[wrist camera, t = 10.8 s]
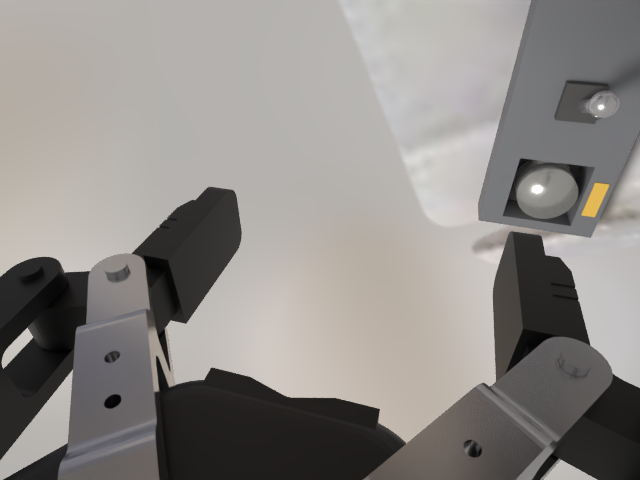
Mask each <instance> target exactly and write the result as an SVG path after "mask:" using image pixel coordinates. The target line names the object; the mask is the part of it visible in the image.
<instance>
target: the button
mask: <svg viewBox="0 0 640 480" xmlns="http://www.w3.org/2000/svg"><path fill="white" fill-rule="evenodd" d="M514 183H515V190H516V197H517V202H518V205H519V207H520V208H521V210H522V211H523V212H524V213H526V214H527V215H529V216H531V217H534V218H540V219H548V218H554V217H557V216H560V215H562V214H564V213H565V212H567V211H568V210H569V209H570V208H571V207H572V206H573V205H574V203H575V202H576V200H577V197H578V187H577V184H576V181H575V179H574V176H573V174H572V171H571V169H570V167H569V166H568V164H564V163H556V162H548V161H539V160H529V161H528V162H526V163H525V164H523V165H522V166H521V167H520V169H519V170H518V172H517V173H516V176H515V181H514Z"/></svg>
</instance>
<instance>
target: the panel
mask: <svg viewBox="0 0 640 480" xmlns="http://www.w3.org/2000/svg"><path fill="white" fill-rule="evenodd" d="M601 91H612V92H614V93H615V94H616V95H617V96H618V97H619V101H620V104H619V107H618V109H617V111H616V112H615V113H614V114H613V115H611V116H609V117H607V118H596V117H594V116H592V115H591V114H590V113H580V112H579V111H578V110H577V105H578V103H579V102H580V101H581V100H585V99H591V98H592V97H593V96H594V95H595V94H596V93H598V92H601ZM639 132H640V0H532V1H531V5H530V9H529V12H528V16H527V20H526V24H525V28H524V31H523V35H522V39H521V43H520V47H519V50H518V54H517V58H516V62H515V66H514V69H513V73H512V77H511V81H510V85H509V88H508V92H507V96H506V100H505V104H504V107H503V111H502V115H501V119H500V123H499V126H498V130H497V134H496V138H495V142H494V145H493V149H492V153H491V157H490V161H489V164H488V168H487V172H486V176H485V180H484V183H483V187H482V191H481V195H480V199H479V202H478V213H479V220H480V221H487V222H493V223H500V224H506V225H513V226H519V227H526V228H532V229H538V230H545V231H551V232H558V233H564V234H571V235H577V236H584V237H590V238H591V236H592V234H593V231H594V229H595V227H596V225H597V223H598V221H599V219H600V216H601V214H602V212H603V210H604V208H605V206H606V203H607V201H608V199H609V197H610V195H611V193H612V191H613V188H614V186H615V184H616V182H617V180H618V178H619V175H620V173H621V171H622V169H623V167H624V165H625V162H626V160H627V158H628V156H629V154H630V152H631V150H632V147H633V145H634V143H635V141H636V139H637V137H638V134H639ZM520 158H523V159H531V160H539V161H548V162H556V163H564V164H572V165H580V166H581V169H580V171H579V174H578V176H577V179H576V184H577V187H578V197H577V200H576V202H575V203H574V205H573V206H572V207H571V208H570V209H569V210H568V211H567V212H565V213H564V214H562V215H560V216H557V217H554V218H548V219H540V218H534V217H531V216H529V215H527V214H526V213H524V212H523V211H522V210H521V208H520V207H519V205H518V202H517V201H514V200H508V196H509V193H510V190H511V187H512V183H513V180H514V177H515V174H516V170H517V167H518V164H519V161H520Z"/></svg>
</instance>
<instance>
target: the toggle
mask: <svg viewBox="0 0 640 480" xmlns="http://www.w3.org/2000/svg"><path fill="white" fill-rule="evenodd" d="M619 104H620V101H619V97H618V96H617V95H616V94H615V93H614V92H612V91H601V92H598V93H596V94H595V95H594V96H593V97H592V98H591V99H585V100H581V101H580V102H579V103H578V105H577V110H578V111H579V112H580V113H590V114H591V115H592V116H594V117H596V118H607V117H609V116H611V115H613V114H614V113H615V112H616V111H617V109H618V107H619Z"/></svg>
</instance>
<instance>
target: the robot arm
mask: <svg viewBox="0 0 640 480" xmlns="http://www.w3.org/2000/svg"><path fill="white" fill-rule="evenodd" d="M240 242H241V225H240V218H239V211H238V204H237V197H236V194H235V192H234V191H233V190H229V189H222V188H215V187H208V188H207V189H206V190H205V191H204V192H203V193H202V194H201V195H200V196H199V197H198V198H197V199H196V200H191V201H189V202H188V203H185V204H183V205H182V206H180V207H178V208H177V209H176V210H175V211H174V212H173V213H172V214H171V215H170V216H169V217H168V219H167V220H165V221H164V222H163V223H162V224H161V225H160V227H159V228H157V229H156V230H155V231H154V232H153V233H152V234H151V235H150V236H149V237H148V238H147V239H146V240H145V241H144V242H143V243H142V244H141V245H140V246H139V247H138V248H137V249H136V250H135V251H134V252H133V253H132V254H119V255H114V256H111V257H108V258H106V259H104V260H102V261H100V262H99V263H97V264H96V265H95V266H94V267H93V268H92V270H91V271H87V272H68V273H64V270H63V268H62V266H61V264H60V263H59V261H58V260H56V259H54V258H50V257H38V258H33V259H29V260H26V261H24V262H21V263H19V264H17V265H15V266H14V267H12V268H11V269H10V270H8V271H7V272H6V273H5V274H3V275H2V276H1V277H0V460H1V459H2V457H3V456H4V455H5V454H6V452H7V451H8V450H9V448H10V447H11V446H12V445H13V443H14V442H15V441H16V439H17V438H18V437H19V436H20V435H21V433H22V432H23V431H24V430H25V428H26V427H27V426H28V425H29V423H30V422H31V421H32V420H33V418H34V417H35V416H36V415H37V413H38V412H39V411H40V410H41V408H42V407H43V406H44V404H45V403H46V402H47V401H48V400H49V398H50V397H51V396H52V395H53V393H54V392H55V391H56V390H57V388H58V387H59V386H60V385H61V383H62V382H63V381H64V380H65V378H66V377H67V376H68V374H69V373H70V372H71V371H72V369H73V378H72V393H71V407H70V421H69V435H68V443H67V444H66V445H64V446H62V447H60V448H59V449H57V450H55V451H53V452H51V453H50V454H48V455H46V456H44V457H43V458H41V459H39V460H37V461H36V462H34V463H32V464H31V465H28V466H27V467H25V468H23V469H21V470H20V471H18V472H16V473H14V474H13V475H11V476H9V477H7V478H6V479H4V480H543V479H544V478H545V477H546V476H547V474H549V472H550V471H551V470H552V469H553V468H554V467H555V466H556V464H558V462H559V461H560V460H563V461H565V462H567V463H568V464H570V465H572V466H574V467H576V468H578V469H580V470H581V471H583V472H585V473H587V474H588V475H590V476H592V477H594V478H596V479H598V480H640V388H638V387H636V386H634V385H632V384H629V383H627V382H625V381H623V380H622V379H620V378H618V377H616V376H615V375H614V374H613V373H612V369H611V367H610V365H609V363H608V362H607V360H606V359H605V358H604V357H603V356H602V355H601V354H600V353H599V352H598V351H597V350H595V349H594V348H593V347H591V346H590V342H589V338H588V334H587V330H586V327H585V323H584V319H583V315H582V311H581V307H580V304H579V302H578V295H577V292H576V289H575V283H574V280H573V276H572V272H571V271H570V269H569V268H568V267H567V266H566V265H565V264H564V262H563V261H562V260H561V259H560V258H559V257H553V256H546V255H545V251H544V246H543V241H542V237H541V236H540V235H533V234H526V233H519V232H512V231H511V232H510V233H509V235H508V238H507V241H506V244H505V247H504V251H503V254H502V257H501V260H500V264H499V267H498V270H497V274H496V277H495V282H494V288H493V310H494V311H493V312H494V337H495V363H496V382H495V383H494V384H493V385H492V386H490V387H489V386H488V385H486V384H485V383H481V384H479V385H477V386H476V387H474V388H473V389H472V390H471V391H470V392H469V393H467V394H466V395H465V396H463V397H462V398H461V399H460V400H459V401H458V402H456V403H455V404H454V405H453V406H451V407H450V408H449V409H448V410H447V411H445V412H444V413H443V414H442V415H441V416H439V417H438V418H437V419H436V420H435V421H433V422H432V423H431V424H430V425H428V426H427V427H426V428H425V429H424V430H422V431H421V432H420V433H419V434H418V435H416V436H415V437H414V438H413V439H412V440H411V441H409V442H408V443H407V444H406V442H404V441H403V440H402V439H401V438H400V437H399V436H397V435H396V434H395V433H394V432H392V431H391V430H389V429H388V428H386V427H384V426H382V425H381V424H379V423H378V418H379V411H380V409H377V408H373V407H369V406H365V405H361V404H357V403H353V402H349V401H345V400H341V399H337V398H290V397H286V396H284V395H282V394H280V393H278V392H276V391H275V390H273V389H271V388H269V387H267V386H265V385H263V384H262V383H260V382H258V381H256V380H255V379H253V378H251V377H248V376H244V375H240V374H236V373H232V372H227V371H223V370H219V369H215V368H211V369H210V371H209V373H208V374H207V376H206V378H205V380H198V381H190V382H185V383H181V384H177V385H175V380H174V374H173V367H172V360H171V353H170V346H169V339H168V333H167V330H166V326H167V325H168V323H169V322H170V320H172V321H177V322H182V323H187V322H188V320H189V319H190V317H191V316H192V314H193V313H194V312H195V310H196V309H197V307H198V306H199V304H200V303H201V301H202V300H203V299H204V297H205V295H206V294H207V293H208V292H209V290H210V289H211V287H212V286H213V284H214V283H215V282H216V280H217V278H218V277H219V275H220V274H221V273H222V271H223V270H224V268H225V267H226V266H227V264H228V263H229V261H230V260H231V259H232V257H233V256H234V254H235V253H236V251H237V250H238V248H239V245H240ZM27 327H28V329H29V331H30V332H31V334H32V336H33V339H32V340H31V341H30V342H29V343H28V344H27V345H26V346H25V347H24V348H23V349H22V350H21V351H20V352H19V353H18V354H17V356H15V358H14V359H13V360H12V361H11V362H10V363H9V364H8V365H7V366H6V367H5V368H4V369H3V368H2V363H1V362H2V357H3V354H4V352H5V350H6V349H7V348H8V346H10V345H11V344H12V342H13V341H14V340H15V339H16V338H17V337H18V336H19V335H20V334H21V333H22V332H23V331H24V330H25V329H26V328H27Z"/></svg>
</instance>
